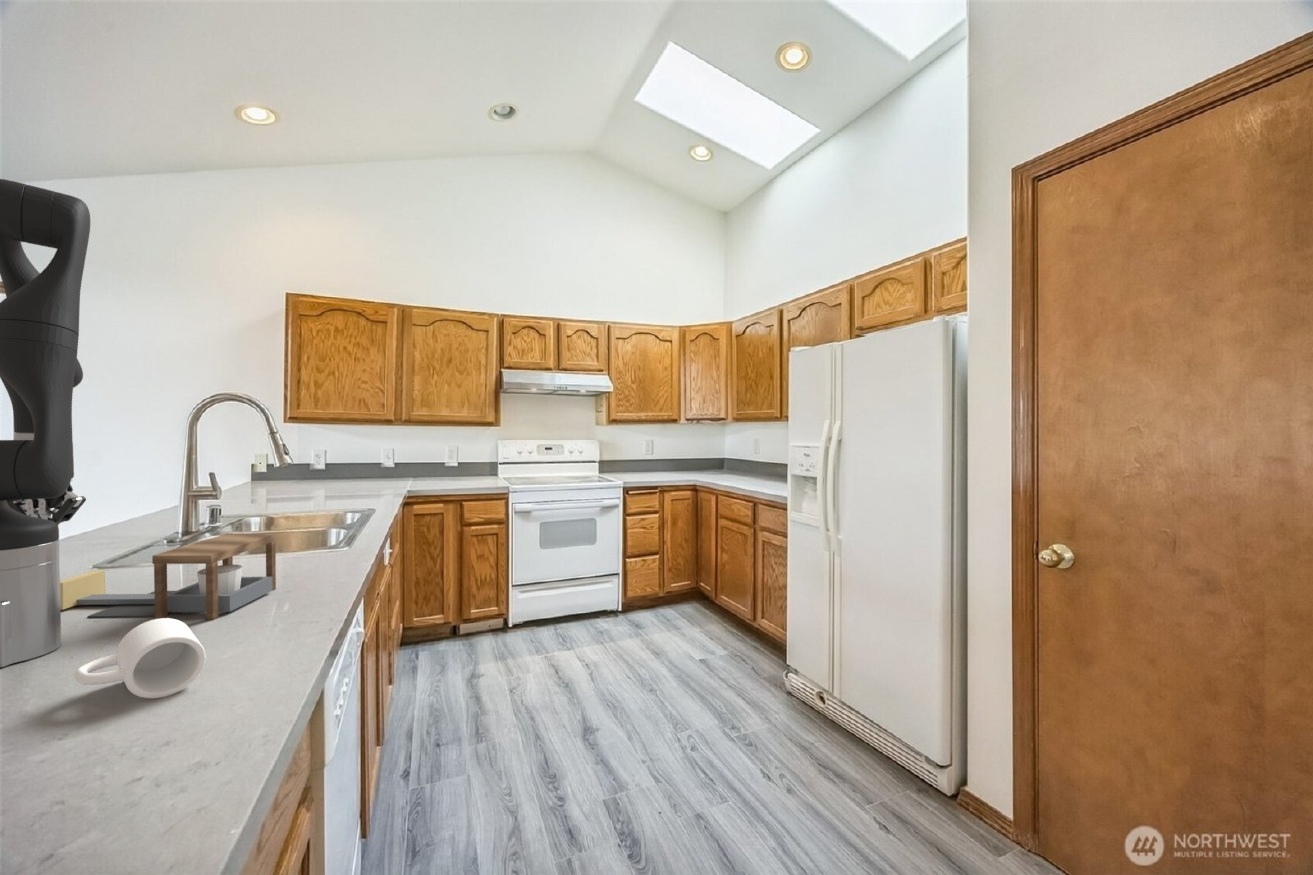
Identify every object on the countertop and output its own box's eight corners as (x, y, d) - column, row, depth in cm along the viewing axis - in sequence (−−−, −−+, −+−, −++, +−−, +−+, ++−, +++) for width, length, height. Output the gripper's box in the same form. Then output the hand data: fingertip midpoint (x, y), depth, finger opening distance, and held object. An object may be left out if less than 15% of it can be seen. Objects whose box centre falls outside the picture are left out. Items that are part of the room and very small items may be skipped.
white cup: (251, 598, 106) (251, 564, 106) (220, 610, 99) (219, 574, 99) (221, 596, 107) (220, 563, 107) (187, 608, 100) (187, 573, 100)
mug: (192, 663, 79) (191, 611, 78) (206, 685, 72) (205, 629, 72) (73, 694, 69) (71, 636, 69) (77, 723, 63) (76, 658, 63)
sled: (230, 611, 97) (229, 585, 97) (39, 613, 95) (39, 586, 95) (272, 590, 109) (272, 567, 109) (104, 591, 107) (104, 567, 107)
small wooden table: (211, 620, 94) (211, 555, 94) (153, 621, 94) (152, 555, 93) (276, 588, 112) (276, 533, 112) (228, 588, 112) (227, 533, 111)
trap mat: (157, 617, 96) (157, 615, 96) (87, 617, 95) (87, 616, 95) (215, 591, 110) (215, 590, 110) (155, 592, 109) (155, 590, 109)
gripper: (-18, 456, 95) (-14, 549, 96) (59, 458, 96) (62, 550, 97) (29, 453, 103) (32, 539, 104) (100, 454, 104) (102, 540, 105)
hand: (47, 544), depth 101 cm, fingers closed
